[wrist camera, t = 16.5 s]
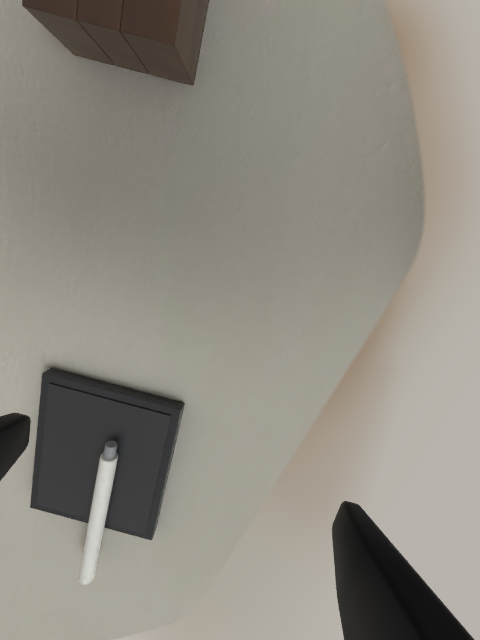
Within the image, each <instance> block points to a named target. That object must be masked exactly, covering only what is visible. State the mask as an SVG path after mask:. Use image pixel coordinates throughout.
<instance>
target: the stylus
mask: <svg viewBox="0 0 480 640" xmlns="http://www.w3.org/2000/svg"><path fill="white" fill-rule="evenodd" d="M116 450H117V442H116V441H108V442H106V444H105V449H104V452H103V453H102V454H101V455H100V460H99V466H98V471H97V477H96V483H95V488H94V494H93V499H92V505H91V511H90V516H89V522H88V528H87V533H86V539H85V545H84V550H83V556H82V562H81V567H80V573H79V581H80V582H81V583H82V584H88V583H90V582H91V581H92V580H93V579H94V577H95V573H96V568H97V562H98V557H99V552H100V547H101V542H102V537H103V532H104V527H105V522H106V516H107V511H108V506H109V501H110V496H111V491H112V486H113V481H114V475H115V470H116V465H117V460H118V454H117V453H116Z"/></svg>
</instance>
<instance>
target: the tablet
mask: <svg viewBox="0 0 480 640" xmlns="http://www.w3.org/2000/svg"><path fill="white" fill-rule="evenodd" d="M183 408H184V403H182V402H178V401H174V400H171V399H167V398H163V397H159V396H156V395H152V394H148V393H144V392H140V391H137V390H133V389H129V388H125V387H122V386H118V385H114V384H110V383H107V382H103V381H99V380H95V379H92V378H88V377H84V376H80V375H77V374H73V373H69V372H65V371H62V370H58V369H54V368H50V369H49V370H47V371H45V372H44V373H43V374H42V384H41V395H40V406H39V417H38V428H37V439H36V450H35V461H34V472H33V483H32V494H31V505H30V507H31V508H34V509H38V510H41V511H45V512H49V513H53V514H56V515H60V516H64V517H67V518H71V519H75V520H78V521H82V522H86V523H88V522H89V516H90V511H91V505H92V499H93V494H94V488H95V483H96V477H97V471H98V466H99V460H100V455H101V454H102V453H103V452H104V449H105V444H106V442H108V441H116V442H117V450H116V453H117V454H118V460H117V465H116V470H115V475H114V481H113V486H112V491H111V496H110V501H109V506H108V511H107V516H106V522H105V527H104V528H108V529H112V530H115V531H119V532H123V533H127V534H130V535H134V536H138V537H141V538H145V539H149V540H152V538H153V535H154V533H155V530H156V526H157V522H158V517H159V513H160V509H161V504H162V500H163V495H164V491H165V487H166V482H167V478H168V474H169V469H170V465H171V461H172V456H173V452H174V448H175V443H176V439H177V435H178V430H179V426H180V421H181V417H182V413H183Z"/></svg>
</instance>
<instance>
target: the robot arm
mask: <svg viewBox="0 0 480 640" xmlns="http://www.w3.org/2000/svg"><path fill="white" fill-rule="evenodd" d="M30 422H31V421H30V417H29V416H27V415H23V414H19V413H11V414H8V415H4V416H1V417H0V481H1V479H2V478H3V477H4V476H5V474H6V473H7V472H8V471H9V469H10V468H11V467H12V465H13V464H14V463H15V462H16V460H17V459H18V458H19V457H20V455H21V454H22V453H23V452H24V450H25V449H26V447H27V445H28V442H29V434H30ZM332 538H333V551H334V564H335V576H336V589H337V598H338V604H339V611H340V617H341V623H342V628H343V635H344V640H474V639H473V638H472V636H471V635H470V634H469V633H468V632H467V631H466V629H465V628H464V627H463V626H462V625H461V624H460V622H459V621H458V620H457V619H456V618H455V617H454V616H453V614H452V613H451V612H450V611H449V610H448V608H447V607H446V606H445V605H444V604H443V602H442V601H441V600H440V599H439V598H438V597H437V595H436V594H435V593H434V592H433V591H432V590H431V589H430V587H429V586H428V585H427V584H426V583H425V581H424V580H423V579H422V578H421V577H420V576H419V574H418V573H417V572H416V571H415V570H414V569H413V568H412V566H411V565H410V564H409V563H408V562H407V560H406V559H405V558H404V557H403V556H402V555H401V553H399V551H398V550H397V549H396V548H395V547H394V545H393V544H392V543H391V542H390V541H389V539H388V538H387V537H386V536H385V535H384V534H383V532H382V531H381V530H380V529H379V528H378V527H377V525H376V524H375V523H374V522H373V521H372V520H371V518H370V517H369V516H368V515H367V514H366V513H365V511H364V510H363V509H362V508H361V507H360V506H359V505H358V504H355V503H352V502H347V501H344V502H343V503H342V504H341V506H340V508H339V510H338V513H337V515H336V518H335V520H334V522H333V526H332Z"/></svg>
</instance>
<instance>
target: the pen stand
mask: <svg viewBox="0 0 480 640" xmlns="http://www.w3.org/2000/svg"><path fill="white" fill-rule="evenodd" d="M208 3H209V0H22V5H23V7H24V8H26V9H27V10H28V11H29V12H30V13H31V14H32V15H33V16H34V17H35V18H36V19H37V20H38V21H39V22H40V23H41V24H42V25H43V26H44V27H45V28H47V29H48V30H49V31H50V32H51V33H52V34H53V35H54V36H55V37H56V38H57V39H58V40H59V41H60V42H61V43H62V44H63V45H64V46H65V47H66V48H68V49H69V50H70V51H71V52H72V53H73V54H74V55H78V56H81V57H85V58H89V59H93V60H97V61H101V62H105V63H109V64H112V65H117V66H120V67H124V68H128V69H131V70H135V71H139V72H143V73H147V74H151V75H155V76H158V77H162V78H166V79H170V80H174V81H178V82H182V83H186V84H189V85H193V84H194V80H195V74H196V69H197V63H198V58H199V52H200V47H201V41H202V36H203V30H204V25H205V19H206V14H207V8H208Z"/></svg>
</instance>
